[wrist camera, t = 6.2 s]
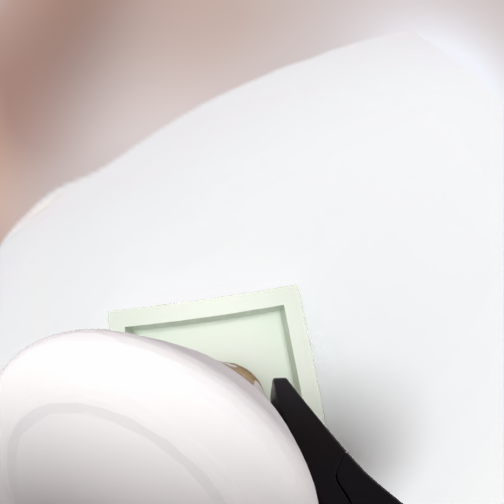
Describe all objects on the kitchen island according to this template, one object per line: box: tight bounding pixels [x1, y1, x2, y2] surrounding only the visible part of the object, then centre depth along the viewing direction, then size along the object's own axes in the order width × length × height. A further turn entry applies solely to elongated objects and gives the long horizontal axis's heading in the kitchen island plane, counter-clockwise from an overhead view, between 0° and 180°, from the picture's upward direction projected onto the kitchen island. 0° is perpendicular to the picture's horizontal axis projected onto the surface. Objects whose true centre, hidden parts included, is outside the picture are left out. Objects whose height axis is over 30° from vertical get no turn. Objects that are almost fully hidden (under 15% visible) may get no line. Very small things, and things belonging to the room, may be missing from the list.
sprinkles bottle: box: [0, 329, 318, 504], centre depth 8 cm, size 5×5×14 cm
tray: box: [108, 285, 326, 426], centre depth 15 cm, size 11×11×2 cm
